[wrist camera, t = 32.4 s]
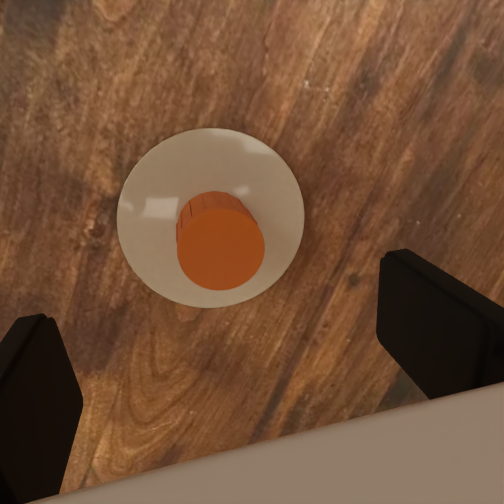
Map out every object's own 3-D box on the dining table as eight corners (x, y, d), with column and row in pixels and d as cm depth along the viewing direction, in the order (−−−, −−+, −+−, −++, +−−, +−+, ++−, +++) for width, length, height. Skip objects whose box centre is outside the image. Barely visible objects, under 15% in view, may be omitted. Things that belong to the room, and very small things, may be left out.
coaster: (140, 315, 21) (139, 322, 21) (97, 138, 18) (93, 140, 17) (303, 286, 23) (307, 292, 22) (296, 117, 19) (301, 117, 18)
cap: (251, 188, 19) (267, 205, 16) (250, 259, 21) (264, 288, 17) (173, 190, 18) (173, 209, 15) (179, 263, 20) (179, 295, 17)
